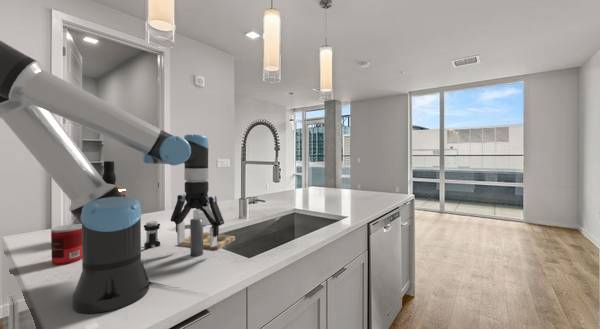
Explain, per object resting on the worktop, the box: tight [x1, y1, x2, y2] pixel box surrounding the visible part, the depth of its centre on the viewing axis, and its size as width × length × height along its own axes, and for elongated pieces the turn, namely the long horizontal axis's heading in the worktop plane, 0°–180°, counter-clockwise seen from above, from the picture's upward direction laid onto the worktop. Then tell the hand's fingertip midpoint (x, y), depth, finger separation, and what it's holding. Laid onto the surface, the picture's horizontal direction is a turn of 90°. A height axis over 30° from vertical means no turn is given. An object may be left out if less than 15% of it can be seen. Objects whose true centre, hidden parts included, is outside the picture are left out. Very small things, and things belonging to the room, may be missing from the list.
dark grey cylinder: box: [189, 218, 204, 257], centre depth 89 cm, size 4×4×12 cm
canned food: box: [50, 223, 82, 266], centre depth 86 cm, size 8×8×11 cm
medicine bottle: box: [192, 201, 211, 227], centre depth 134 cm, size 7×7×12 cm
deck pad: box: [178, 249, 214, 261], centre depth 89 cm, size 8×8×1 cm
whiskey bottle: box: [102, 160, 127, 197], centre depth 112 cm, size 10×10×32 cm
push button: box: [141, 220, 161, 252], centre depth 96 cm, size 7×5×10 cm
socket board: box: [177, 232, 236, 251], centre depth 102 cm, size 12×17×3 cm
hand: (197, 244), depth 89 cm, fingers open, 12 cm apart
